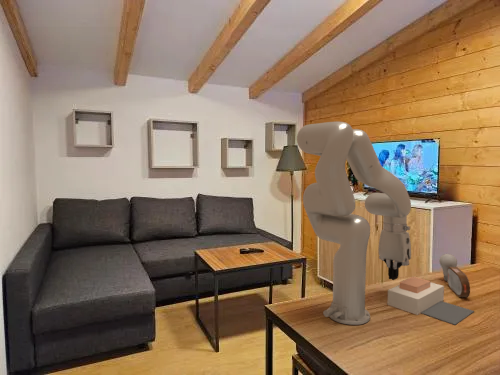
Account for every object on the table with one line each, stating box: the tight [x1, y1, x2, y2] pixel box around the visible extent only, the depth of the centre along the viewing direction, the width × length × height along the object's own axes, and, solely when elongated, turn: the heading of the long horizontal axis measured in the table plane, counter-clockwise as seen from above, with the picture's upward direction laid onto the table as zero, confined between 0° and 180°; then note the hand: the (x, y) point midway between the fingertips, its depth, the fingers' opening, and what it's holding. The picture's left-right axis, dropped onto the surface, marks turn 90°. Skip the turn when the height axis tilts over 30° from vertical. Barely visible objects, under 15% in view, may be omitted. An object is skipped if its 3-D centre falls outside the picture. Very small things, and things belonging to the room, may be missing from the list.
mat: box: [420, 300, 475, 326], centre depth 109 cm, size 14×10×1 cm
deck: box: [387, 282, 445, 316], centre depth 117 cm, size 18×10×5 cm, turn 128°
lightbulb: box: [438, 253, 458, 283], centre depth 136 cm, size 6×6×11 cm
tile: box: [398, 276, 432, 293], centre depth 117 cm, size 9×6×2 cm, turn 128°
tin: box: [446, 266, 471, 299], centre depth 125 cm, size 15×3×8 cm, turn 168°
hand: (393, 278), depth 123 cm, fingers closed
